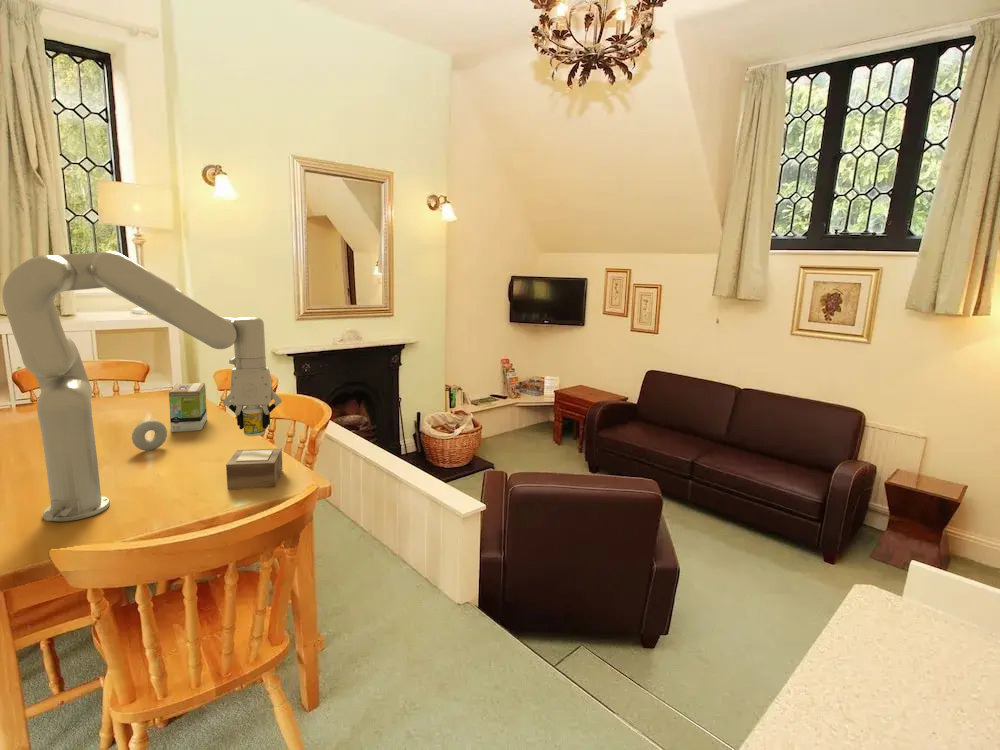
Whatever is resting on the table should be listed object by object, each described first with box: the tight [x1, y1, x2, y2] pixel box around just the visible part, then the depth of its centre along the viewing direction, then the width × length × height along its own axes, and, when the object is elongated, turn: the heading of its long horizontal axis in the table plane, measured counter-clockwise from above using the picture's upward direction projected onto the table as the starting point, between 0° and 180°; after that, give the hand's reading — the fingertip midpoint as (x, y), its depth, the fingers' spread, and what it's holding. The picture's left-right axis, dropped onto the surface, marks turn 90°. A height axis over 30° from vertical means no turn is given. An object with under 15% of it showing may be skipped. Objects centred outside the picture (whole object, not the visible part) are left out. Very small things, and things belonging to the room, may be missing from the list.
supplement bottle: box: [242, 406, 266, 437], centre depth 149 cm, size 5×5×10 cm
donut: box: [131, 419, 168, 452], centre depth 172 cm, size 10×4×10 cm, turn 146°
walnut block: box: [225, 448, 283, 490], centre depth 152 cm, size 12×12×7 cm
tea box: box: [168, 382, 208, 433], centre depth 198 cm, size 15×10×15 cm, turn 22°
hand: (254, 427), depth 150 cm, fingers closed on supplement bottle, 5 cm apart
